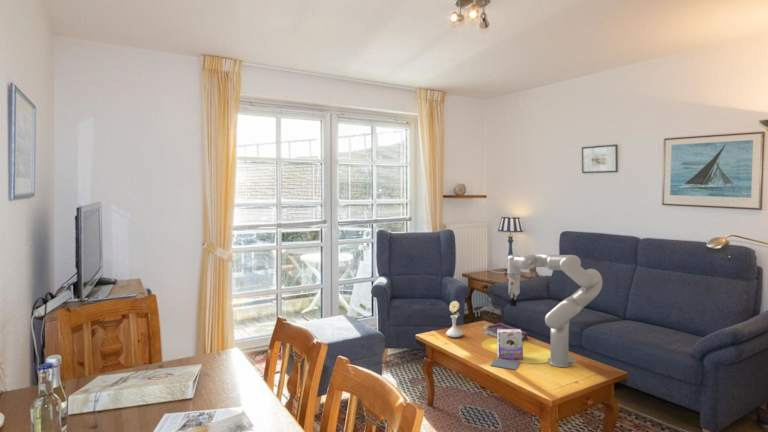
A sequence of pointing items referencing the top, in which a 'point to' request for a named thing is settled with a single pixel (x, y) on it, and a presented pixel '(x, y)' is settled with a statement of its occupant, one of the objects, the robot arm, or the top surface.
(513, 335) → the candy box
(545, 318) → the robot arm
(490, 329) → the book
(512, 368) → the mat
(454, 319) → the flower in vase
